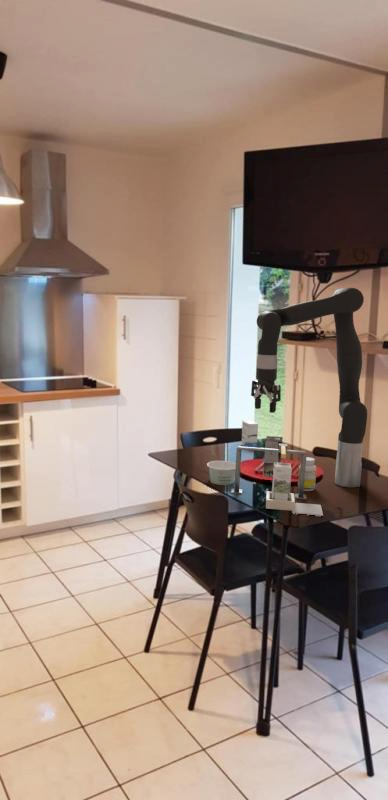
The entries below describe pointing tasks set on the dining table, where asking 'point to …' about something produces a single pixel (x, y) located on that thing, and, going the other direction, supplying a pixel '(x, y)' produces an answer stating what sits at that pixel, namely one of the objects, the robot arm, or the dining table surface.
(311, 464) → the pill bottle
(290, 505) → the socket
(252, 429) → the ink box
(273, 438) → the coffee box
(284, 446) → the latch
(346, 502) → the dining table surface
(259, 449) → the latch rail
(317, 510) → the pad
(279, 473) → the syrup box
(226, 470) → the food container
